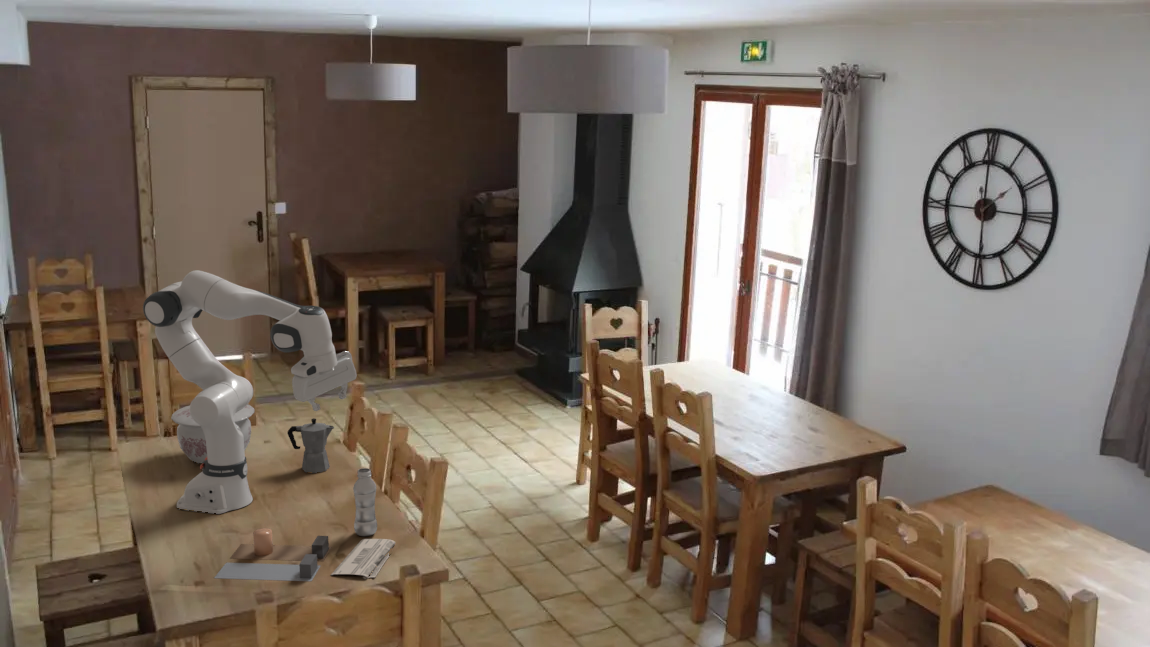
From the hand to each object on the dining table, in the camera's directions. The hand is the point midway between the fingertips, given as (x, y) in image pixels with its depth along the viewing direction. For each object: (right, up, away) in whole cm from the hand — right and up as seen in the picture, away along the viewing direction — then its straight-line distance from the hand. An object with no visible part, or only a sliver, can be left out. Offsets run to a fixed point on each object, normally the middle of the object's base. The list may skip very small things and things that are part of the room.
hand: (330, 404), depth 301 cm
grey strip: (-10, -44, -27) cm, 53 cm away
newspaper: (+14, -43, -16) cm, 48 cm away
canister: (-15, -40, -16) cm, 45 cm away
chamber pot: (-53, -24, +57) cm, 81 cm away
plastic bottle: (+11, -38, 0) cm, 40 cm away
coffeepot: (-18, -26, +49) cm, 58 cm away
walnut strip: (-10, -41, -16) cm, 45 cm away
